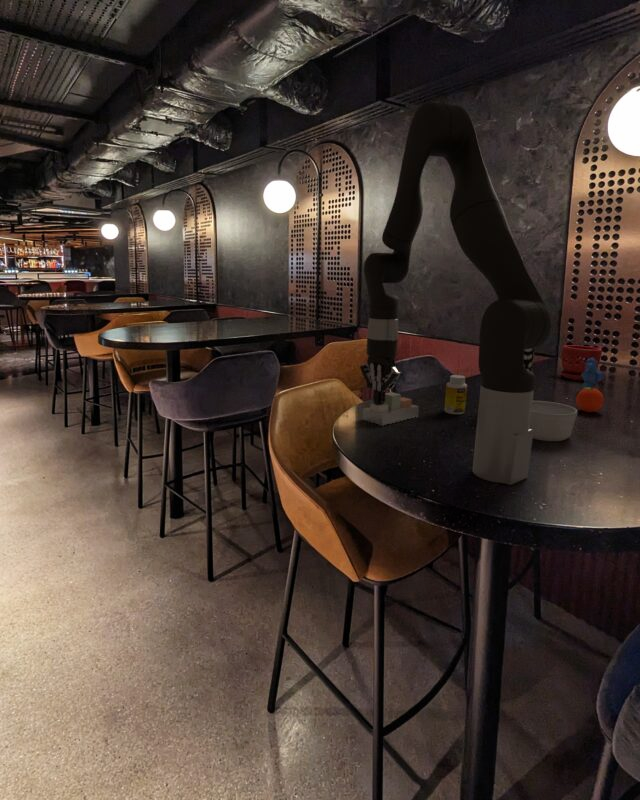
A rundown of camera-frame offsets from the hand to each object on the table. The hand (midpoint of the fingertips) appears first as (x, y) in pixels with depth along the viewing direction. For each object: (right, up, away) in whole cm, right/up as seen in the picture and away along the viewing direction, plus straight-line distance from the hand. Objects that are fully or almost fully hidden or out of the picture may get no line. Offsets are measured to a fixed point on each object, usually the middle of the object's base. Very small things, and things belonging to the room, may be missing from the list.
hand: (378, 404), depth 129 cm
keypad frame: (+4, -4, +4) cm, 7 cm away
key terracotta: (+7, -3, +7) cm, 10 cm away
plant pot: (+82, +9, +61) cm, 103 cm away
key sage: (+4, -1, +3) cm, 5 cm away
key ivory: (0, -4, +1) cm, 4 cm away
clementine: (+61, -2, +15) cm, 63 cm away
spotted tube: (+39, -2, +13) cm, 41 cm away
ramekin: (+39, -7, -7) cm, 40 cm away
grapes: (+74, +3, +36) cm, 82 cm away
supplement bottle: (+22, -3, +11) cm, 25 cm away
